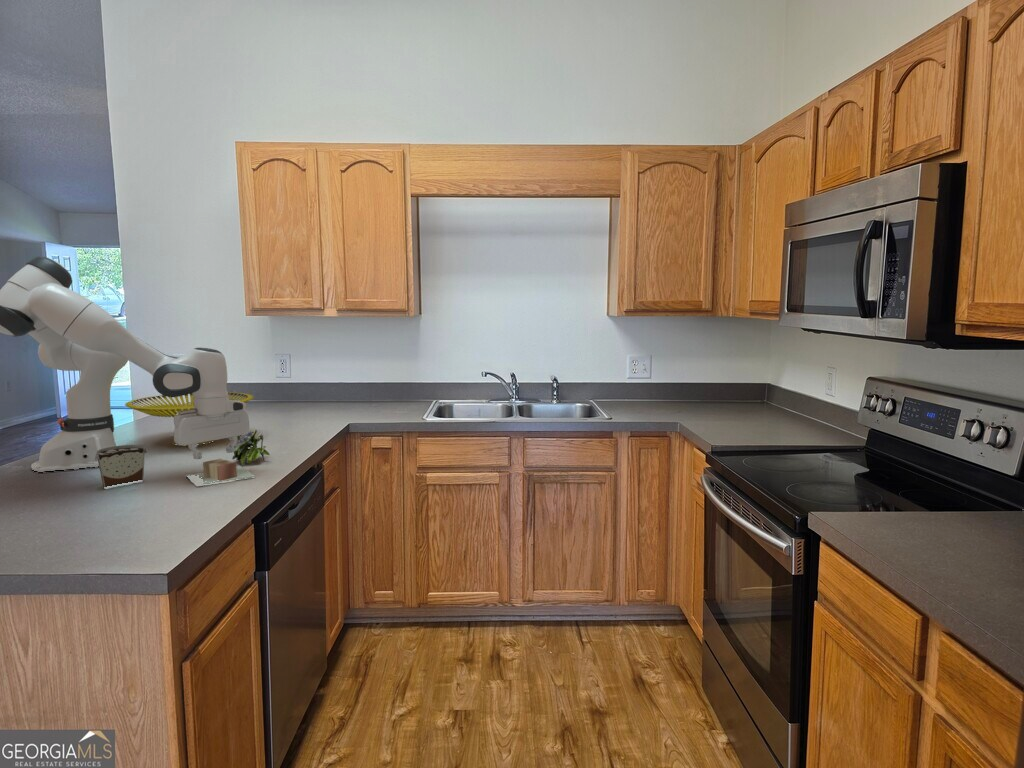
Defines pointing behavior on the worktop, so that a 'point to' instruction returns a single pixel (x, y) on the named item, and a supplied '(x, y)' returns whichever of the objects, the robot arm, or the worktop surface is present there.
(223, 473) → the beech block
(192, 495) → the worktop surface
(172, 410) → the cake stand
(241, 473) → the sage mat
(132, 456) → the food container
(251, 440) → the passion flower
